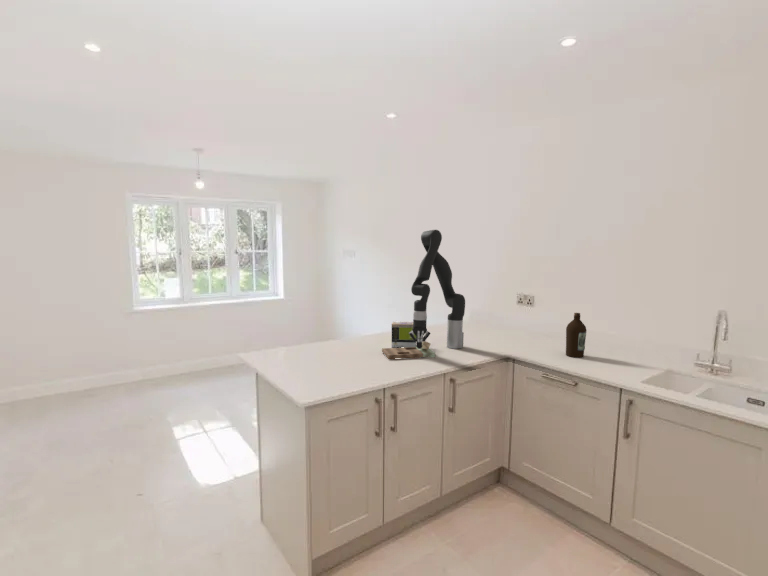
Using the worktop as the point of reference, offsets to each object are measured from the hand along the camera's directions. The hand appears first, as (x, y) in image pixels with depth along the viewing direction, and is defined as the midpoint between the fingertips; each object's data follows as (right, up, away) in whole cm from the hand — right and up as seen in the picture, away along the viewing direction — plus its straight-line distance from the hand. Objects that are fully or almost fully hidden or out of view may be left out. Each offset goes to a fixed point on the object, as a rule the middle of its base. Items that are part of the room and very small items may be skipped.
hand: (419, 348), depth 242 cm
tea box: (-8, -2, +20) cm, 21 cm away
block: (+3, 0, +2) cm, 3 cm away
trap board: (-6, -4, -1) cm, 7 cm away
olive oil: (+90, -5, +2) cm, 90 cm away
